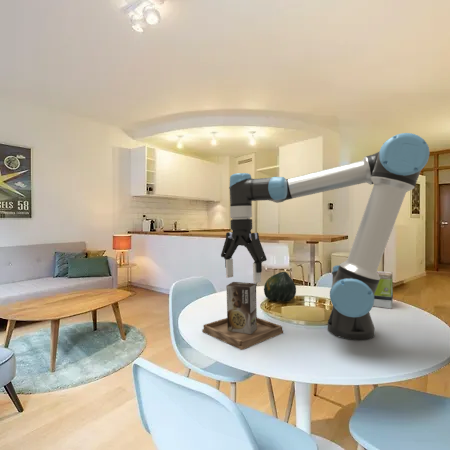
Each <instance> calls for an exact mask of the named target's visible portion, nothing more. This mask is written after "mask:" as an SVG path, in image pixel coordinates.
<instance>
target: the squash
mask: <svg viewBox="0 0 450 450" xmlns="http://www.w3.org/2000/svg"><path fill="white" fill-rule="evenodd" d="M263 292H264V293H263V294H264V296H265V298H267V300H269V299H270V301H271V300H273V301H272V302H275V301H277V302H280V301H281V302H284V303H289V302H291V301H293V299H294V298H295V296H296V295H297V286H296V284H295V281H294V280H293V279H292V277H291V276H290V275H289V273H288V272H286V271H280V272H278V273H276V274H273V275H270V277H269V278H268V279H267V280H266V282H265V283H264V286H263Z"/></svg>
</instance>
